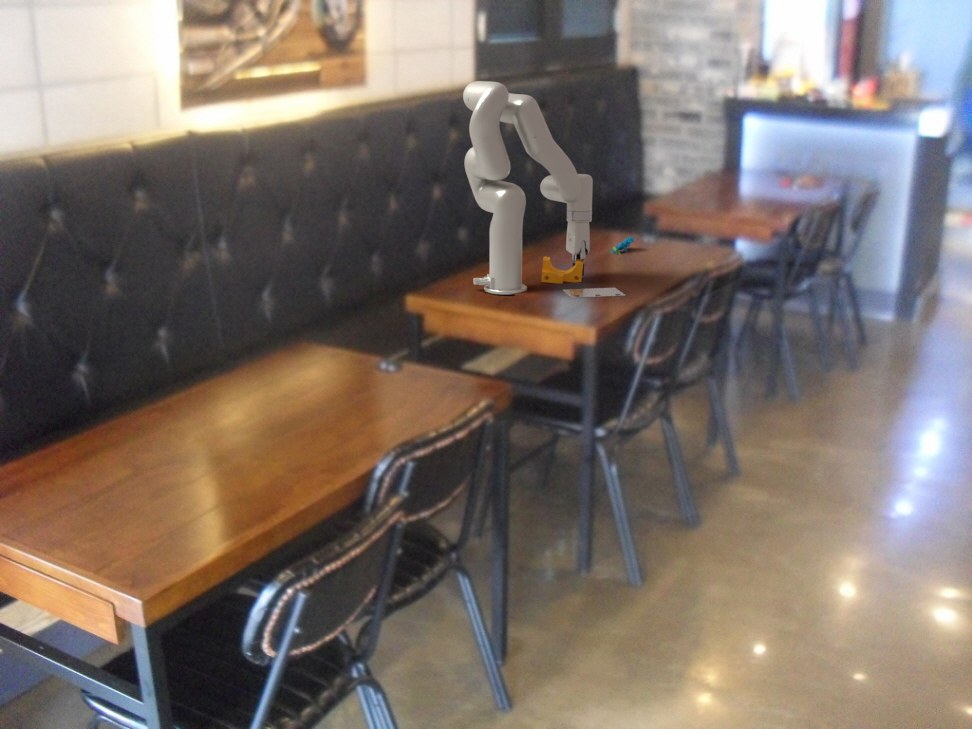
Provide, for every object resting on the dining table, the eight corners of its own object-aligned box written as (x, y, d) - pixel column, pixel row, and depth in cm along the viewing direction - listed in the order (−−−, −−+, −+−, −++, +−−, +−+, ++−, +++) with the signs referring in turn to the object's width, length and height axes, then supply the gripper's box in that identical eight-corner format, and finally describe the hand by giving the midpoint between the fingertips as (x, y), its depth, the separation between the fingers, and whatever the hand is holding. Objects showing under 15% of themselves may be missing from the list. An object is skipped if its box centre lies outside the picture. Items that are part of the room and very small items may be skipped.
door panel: (571, 297, 298) (571, 296, 298) (562, 290, 308) (562, 289, 308) (625, 295, 301) (625, 294, 301) (614, 288, 311) (614, 287, 311)
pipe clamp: (541, 281, 317) (542, 262, 314) (542, 275, 321) (543, 256, 317) (580, 285, 316) (583, 266, 313) (581, 279, 320) (583, 260, 317)
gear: (618, 251, 362) (636, 232, 356) (628, 264, 361) (647, 246, 355) (601, 256, 354) (620, 237, 348) (612, 270, 352) (631, 250, 346)
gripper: (560, 212, 322) (559, 271, 328) (574, 220, 308) (573, 281, 314) (584, 211, 324) (582, 270, 329) (598, 219, 310) (597, 280, 315)
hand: (578, 275), depth 321 cm, fingers closed
